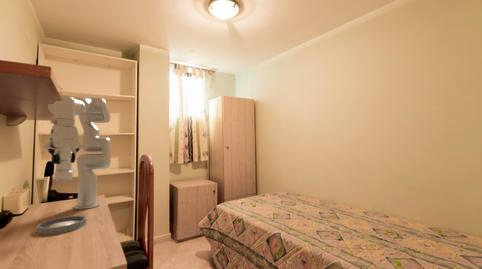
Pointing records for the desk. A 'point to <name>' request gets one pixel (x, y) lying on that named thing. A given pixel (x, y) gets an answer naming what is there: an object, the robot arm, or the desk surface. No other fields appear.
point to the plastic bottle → (64, 165)
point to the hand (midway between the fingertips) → (63, 162)
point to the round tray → (61, 225)
